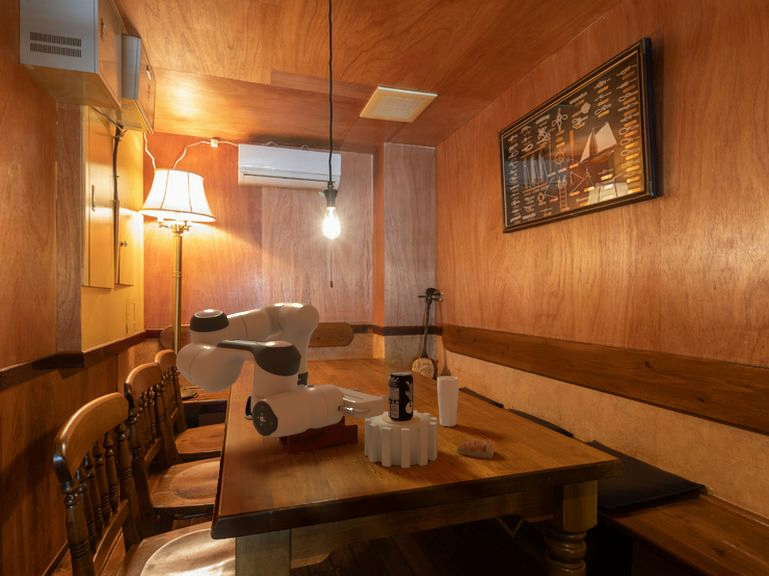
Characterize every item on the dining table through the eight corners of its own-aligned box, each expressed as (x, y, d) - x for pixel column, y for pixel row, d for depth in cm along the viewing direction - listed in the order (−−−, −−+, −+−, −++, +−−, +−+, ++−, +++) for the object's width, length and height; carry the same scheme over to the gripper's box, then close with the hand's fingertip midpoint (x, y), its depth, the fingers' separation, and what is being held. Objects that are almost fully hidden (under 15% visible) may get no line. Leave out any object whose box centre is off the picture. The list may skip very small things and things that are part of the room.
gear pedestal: (366, 469, 104) (366, 430, 104) (363, 442, 123) (363, 409, 123) (444, 466, 106) (444, 428, 106) (430, 440, 125) (430, 408, 125)
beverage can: (413, 415, 117) (413, 370, 118) (412, 422, 111) (412, 375, 111) (389, 414, 118) (389, 370, 118) (387, 421, 112) (387, 374, 112)
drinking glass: (460, 422, 142) (460, 376, 142) (456, 428, 136) (456, 380, 136) (439, 420, 144) (439, 375, 144) (435, 426, 138) (435, 379, 138)
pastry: (457, 458, 112) (457, 443, 112) (456, 449, 119) (456, 434, 119) (495, 459, 111) (495, 444, 111) (491, 450, 118) (491, 436, 118)
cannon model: (241, 446, 120) (242, 391, 120) (342, 431, 133) (342, 382, 133) (249, 462, 109) (249, 401, 109) (358, 444, 122) (358, 390, 122)
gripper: (356, 398, 90) (402, 388, 100) (300, 384, 105) (345, 376, 114) (356, 429, 90) (402, 416, 100) (300, 410, 105) (345, 400, 114)
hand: (371, 395), depth 107 cm, fingers open, 8 cm apart
